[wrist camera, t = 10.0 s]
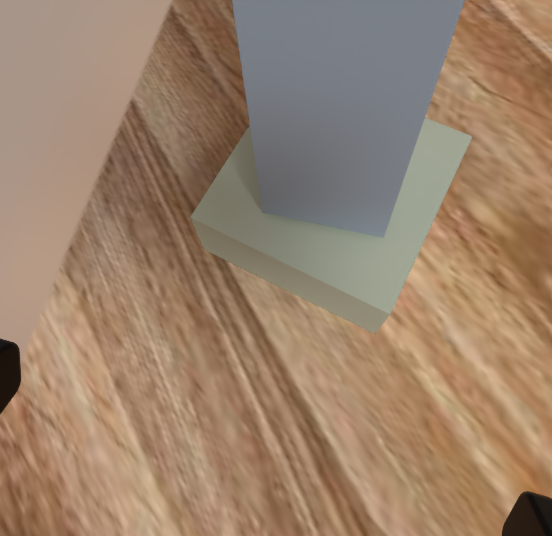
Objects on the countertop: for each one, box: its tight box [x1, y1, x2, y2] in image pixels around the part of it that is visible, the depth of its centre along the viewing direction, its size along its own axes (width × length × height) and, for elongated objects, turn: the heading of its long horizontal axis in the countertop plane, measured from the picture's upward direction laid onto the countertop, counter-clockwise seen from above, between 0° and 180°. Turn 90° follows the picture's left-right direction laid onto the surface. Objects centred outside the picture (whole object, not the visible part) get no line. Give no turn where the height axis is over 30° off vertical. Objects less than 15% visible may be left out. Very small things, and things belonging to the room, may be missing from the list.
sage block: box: [190, 118, 472, 334], centre depth 23 cm, size 9×9×4 cm
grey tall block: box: [232, 0, 465, 238], centre depth 15 cm, size 5×5×12 cm
